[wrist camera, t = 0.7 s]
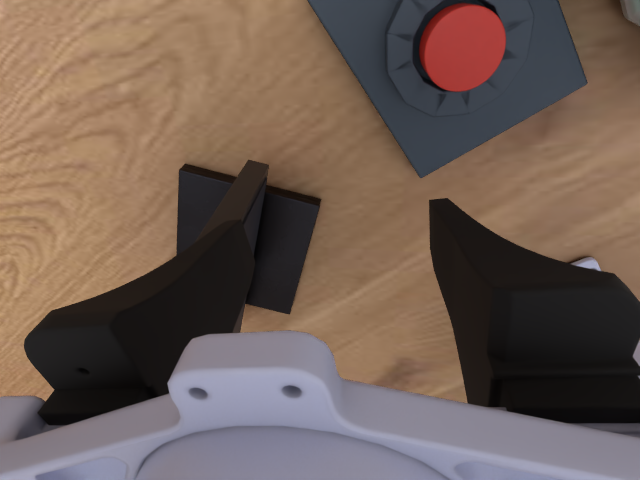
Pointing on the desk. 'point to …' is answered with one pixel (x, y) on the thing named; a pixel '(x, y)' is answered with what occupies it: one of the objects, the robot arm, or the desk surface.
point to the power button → (462, 46)
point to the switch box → (442, 105)
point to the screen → (242, 207)
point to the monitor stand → (272, 239)
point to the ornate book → (631, 10)
